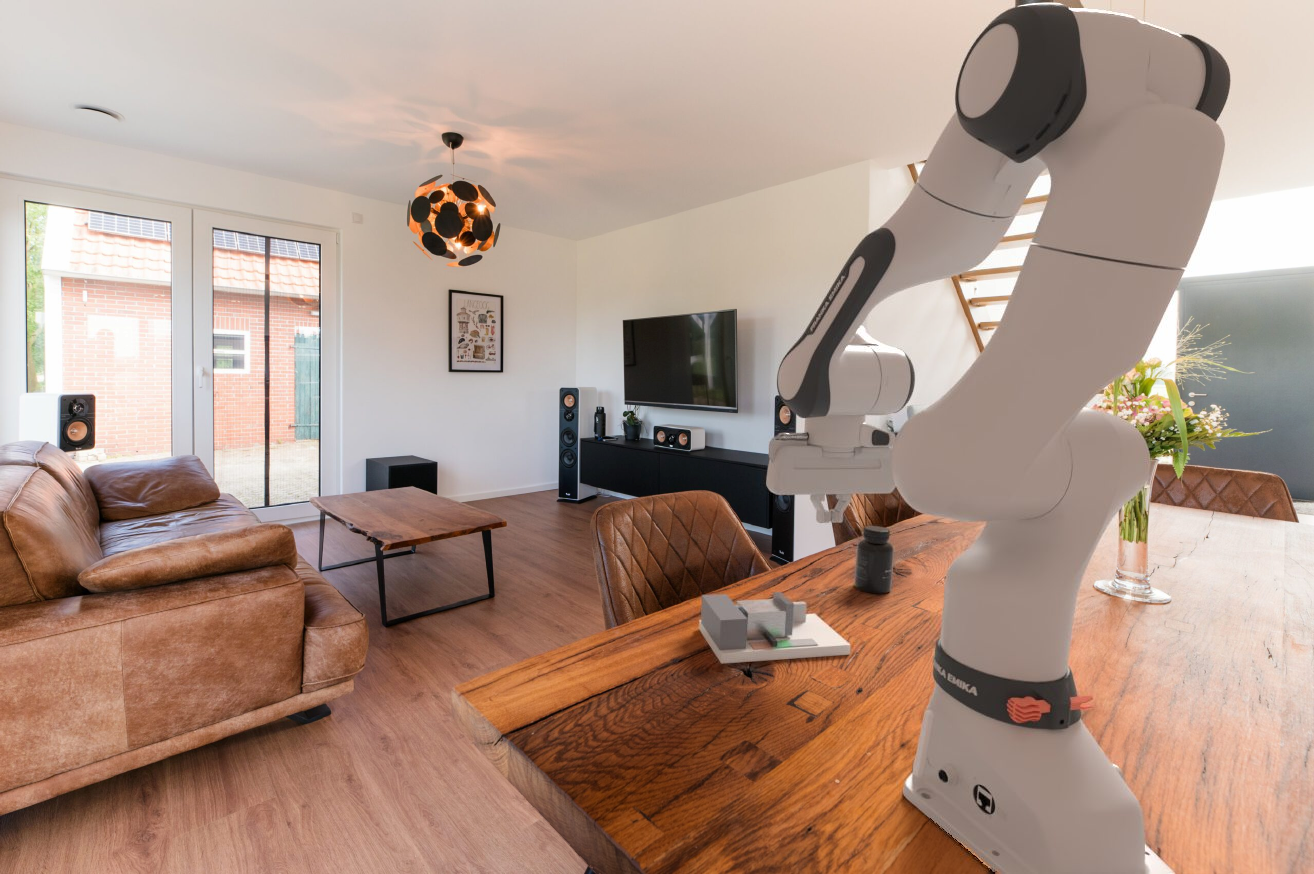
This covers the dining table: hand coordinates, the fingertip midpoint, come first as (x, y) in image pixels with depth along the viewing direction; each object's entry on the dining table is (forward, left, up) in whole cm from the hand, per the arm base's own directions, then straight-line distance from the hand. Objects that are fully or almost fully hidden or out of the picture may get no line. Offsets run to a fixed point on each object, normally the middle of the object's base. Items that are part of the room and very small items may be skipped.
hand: (829, 522), depth 96 cm
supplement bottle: (+20, -20, -19) cm, 34 cm away
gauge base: (0, +9, -19) cm, 21 cm away
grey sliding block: (-2, +10, -17) cm, 20 cm away
